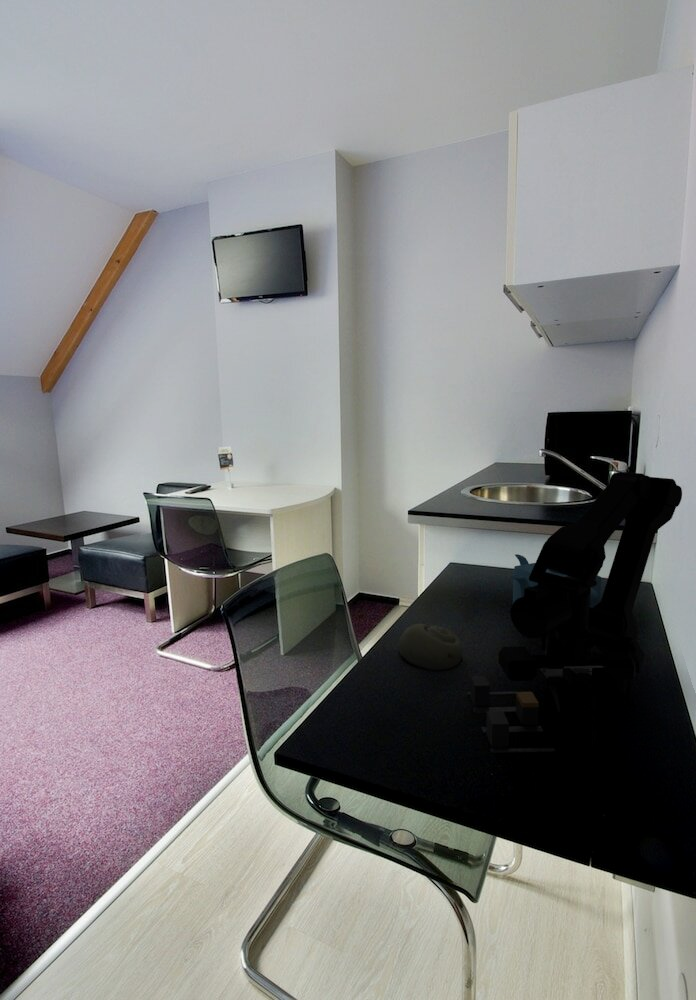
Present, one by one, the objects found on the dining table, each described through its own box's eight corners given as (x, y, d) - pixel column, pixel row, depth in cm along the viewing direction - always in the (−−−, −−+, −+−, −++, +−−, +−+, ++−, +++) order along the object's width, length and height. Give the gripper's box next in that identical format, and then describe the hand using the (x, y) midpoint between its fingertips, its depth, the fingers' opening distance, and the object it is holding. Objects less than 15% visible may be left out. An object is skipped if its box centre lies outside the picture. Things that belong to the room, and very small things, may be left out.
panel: (544, 696, 86) (544, 689, 85) (588, 761, 70) (589, 752, 70) (439, 698, 86) (439, 691, 85) (460, 763, 70) (460, 754, 70)
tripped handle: (530, 713, 79) (531, 691, 78) (537, 724, 76) (538, 702, 75) (515, 713, 79) (516, 692, 78) (522, 725, 76) (523, 703, 75)
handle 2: (502, 733, 74) (503, 711, 73) (508, 747, 71) (509, 723, 70) (485, 734, 74) (486, 711, 73) (491, 747, 71) (492, 724, 70)
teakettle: (600, 647, 103) (605, 579, 100) (505, 633, 110) (508, 569, 107) (594, 613, 120) (598, 554, 117) (512, 602, 127) (515, 547, 124)
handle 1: (484, 695, 84) (484, 675, 83) (489, 706, 81) (489, 685, 80) (470, 696, 84) (470, 676, 83) (474, 706, 81) (474, 685, 80)
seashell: (464, 621, 99) (455, 636, 90) (466, 660, 99) (458, 679, 90) (402, 618, 104) (388, 632, 95) (404, 656, 104) (390, 673, 95)
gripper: (603, 597, 82) (596, 683, 85) (490, 599, 82) (487, 685, 85) (641, 626, 71) (633, 724, 74) (511, 628, 72) (507, 726, 74)
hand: (561, 712), depth 77 cm, fingers closed
